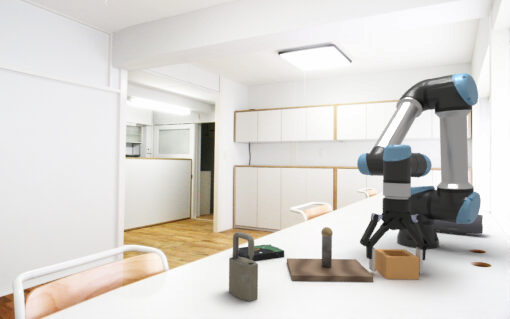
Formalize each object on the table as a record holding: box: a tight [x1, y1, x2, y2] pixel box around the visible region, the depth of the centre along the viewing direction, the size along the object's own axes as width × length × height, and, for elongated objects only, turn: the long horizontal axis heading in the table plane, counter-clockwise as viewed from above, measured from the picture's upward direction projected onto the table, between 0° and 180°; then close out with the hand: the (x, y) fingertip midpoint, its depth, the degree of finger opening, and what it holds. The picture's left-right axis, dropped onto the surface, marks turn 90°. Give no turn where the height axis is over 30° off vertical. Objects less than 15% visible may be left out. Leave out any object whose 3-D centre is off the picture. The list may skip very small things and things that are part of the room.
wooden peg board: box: [286, 226, 374, 283], centre depth 99 cm, size 22×16×13 cm
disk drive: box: [238, 244, 285, 262], centre depth 115 cm, size 10×3×15 cm
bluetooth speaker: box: [434, 214, 484, 236], centre depth 157 cm, size 23×9×10 cm, turn 58°
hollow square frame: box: [375, 248, 420, 280], centre depth 98 cm, size 9×9×6 cm
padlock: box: [228, 231, 259, 302], centre depth 81 cm, size 4×8×15 cm, turn 40°
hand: (395, 270), depth 98 cm, fingers open, 13 cm apart
